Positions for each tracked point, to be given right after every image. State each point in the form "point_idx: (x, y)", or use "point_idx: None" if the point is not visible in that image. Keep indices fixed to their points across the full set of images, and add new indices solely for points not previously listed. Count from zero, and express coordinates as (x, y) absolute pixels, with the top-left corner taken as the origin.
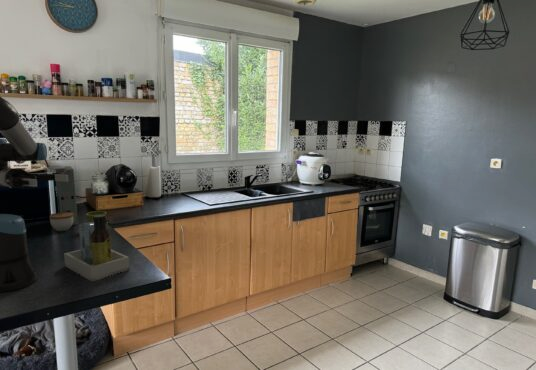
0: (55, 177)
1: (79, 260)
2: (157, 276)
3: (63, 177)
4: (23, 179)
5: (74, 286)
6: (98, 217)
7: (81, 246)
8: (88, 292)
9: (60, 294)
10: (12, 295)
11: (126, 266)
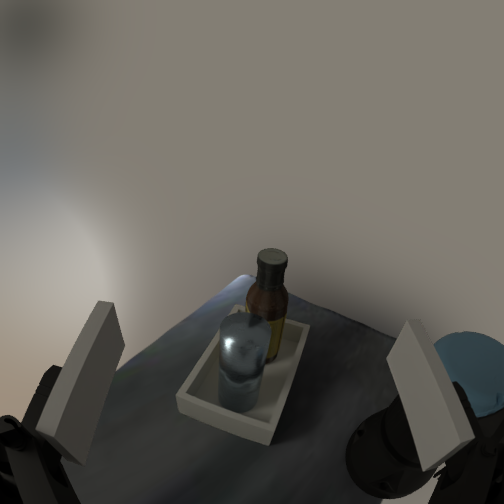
0: (71, 444)
1: (293, 366)
2: (242, 283)
3: (105, 348)
4: (466, 429)
5: (331, 354)
6: (283, 252)
7: (262, 375)
8: (332, 325)
9: (360, 350)
10: None
11: None
